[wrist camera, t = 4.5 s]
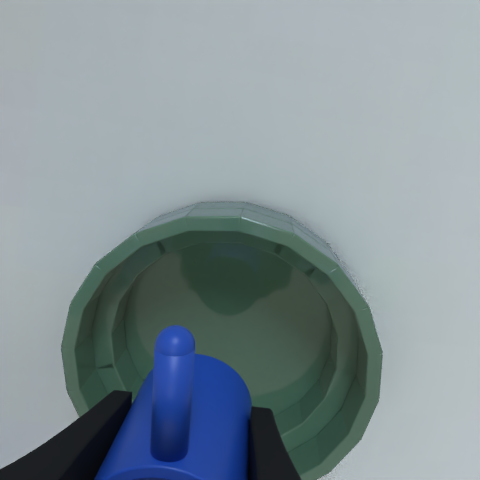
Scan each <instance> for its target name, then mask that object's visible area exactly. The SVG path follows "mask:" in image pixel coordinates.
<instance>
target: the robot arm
mask: <svg viewBox="0 0 480 480" xmlns="http://www.w3.org/2000/svg"><path fill="white" fill-rule="evenodd" d="M131 406H132V392H129V391H120V390H113V391H112V392H111V393H110V394H108V395H107V396H106V397H104V398H103V399H102V400H101V401H100V402H98V403H97V404H96V405H95V406H93V407H92V408H91V409H90V410H88V411H87V412H86V413H85V414H84V415H82V416H81V417H80V418H78V419H77V420H76V421H74V422H73V423H72V424H71V425H69V426H68V427H67V428H65V429H64V430H63V431H61V432H60V433H58V434H57V435H56V436H54V437H53V438H51V439H50V440H48V441H47V442H46V443H44V444H43V445H41V446H40V447H38V448H36V449H35V450H33V451H32V452H30V453H28V454H27V455H25V456H23V457H22V458H20V459H18V460H17V461H15V462H13V463H11V464H10V465H8V466H6V467H4V468H2V469H0V480H94V479H95V477H96V475H97V473H98V471H99V469H100V467H101V465H102V463H103V461H104V459H105V457H106V455H107V453H108V451H109V449H110V447H111V445H112V443H113V441H114V439H115V437H116V435H117V433H118V431H119V429H120V427H121V425H122V423H123V421H124V420H125V418H126V416H127V414H128V412H129V410H130V408H131ZM248 480H301V478H300V476H299V474H298V472H297V470H296V469H295V467H294V465H293V463H292V461H291V459H290V456H289V454H288V452H287V450H286V448H285V446H284V443H283V441H282V438H281V436H280V433H279V431H278V428H277V425H276V422H275V419H274V415H273V411H272V410H271V409H270V408H263V407H254V406H252V407H251V416H250V428H249V463H248Z"/></svg>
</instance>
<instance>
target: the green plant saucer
mask: <svg viewBox="0 0 480 480" xmlns="http://www.w3.org/2000/svg"><path fill="white" fill-rule="evenodd" d="M172 325H179V326H183V327H185V328H187V329H188V330H189V331H190V332H191V333H192V335H193V336H194V339H195V354H201V355H207V356H210V357H214V358H216V359H218V360H221V361H222V362H224V363H226V364H227V365H229V366H230V367H231V368H233V369H234V370H235V371H236V372H237V373H238V374H239V375H240V377H241V378H242V379H243V381H244V382H245V384H246V386H247V388H248V390H249V393H250V397H251V403H252V406H254V407H263V408H270V409H271V410H272V411H273V415H274V419H275V422H276V425H277V428H278V431H279V433H280V436H281V438H282V441H283V443H284V446H285V448H286V450H287V452H288V454H289V456H290V459H291V461H292V463H293V465H294V467H295V469H296V470H297V472H298V474H299V476H300V478H301V480H317V479H319V478H321V477H322V476H324V475H326V474H328V473H329V472H331V471H332V469H333V468H334V467H335V466H336V465H337V464H338V463H339V462H340V461H341V460H342V459H343V458H344V457H345V456H346V455H347V454H348V453H349V452H350V451H351V450H352V449H353V448H354V447H355V446H356V445H357V444H358V442H359V441H360V440H361V439H362V436H363V434H364V432H365V430H366V428H367V426H368V423H369V421H370V419H371V417H372V415H373V412H374V410H375V408H376V406H377V404H378V402H379V396H380V383H381V369H382V356H383V354H382V349H381V345H380V342H379V338H378V335H377V331H376V328H375V325H374V321H373V318H372V314H371V311H370V308H369V306H368V304H367V302H366V300H365V299H364V297H363V295H362V294H361V292H360V290H359V289H358V287H357V285H356V284H355V282H354V280H353V279H352V277H351V275H350V274H349V273H348V271H347V270H346V268H345V267H344V266H343V264H342V263H341V262H340V260H339V259H338V257H337V256H336V255H335V253H334V252H333V251H332V249H331V248H330V246H329V245H328V244H327V243H326V242H325V241H324V240H323V239H321V238H320V237H318V236H317V235H316V234H314V233H313V232H311V231H310V230H309V229H307V228H306V227H304V226H303V225H302V224H300V223H299V222H297V221H296V220H295V219H293V218H292V217H289V216H288V215H285V214H282V213H279V212H276V211H273V210H269V209H266V208H263V207H260V206H257V205H254V204H250V203H247V202H246V203H245V202H200V203H196V204H193V205H190V206H187V207H184V208H182V209H179V210H176V211H173V212H170V213H167V214H164V215H161V216H159V217H157V218H155V219H154V220H152V221H151V222H150V223H148V224H147V225H145V226H144V227H143V228H141V229H140V230H138V231H137V232H136V233H134V234H133V235H132V236H130V237H129V238H128V239H126V240H125V241H124V242H122V243H121V244H120V245H119V246H117V247H116V248H115V249H113V250H112V251H111V252H109V253H108V254H107V255H106V256H104V257H103V258H102V259H100V260H99V261H98V262H97V263H96V264H95V265H94V266H93V268H92V270H91V271H90V273H89V274H88V276H87V277H86V279H85V281H84V282H83V284H82V285H81V287H80V288H79V290H78V292H77V293H76V295H75V296H74V298H73V300H72V301H71V304H70V307H69V312H68V316H67V321H66V326H65V331H64V335H63V340H62V345H61V347H62V348H61V352H62V359H63V367H64V374H65V381H66V389H67V391H68V395H69V397H70V399H71V401H72V403H73V405H74V407H75V409H76V411H77V413H78V415H79V417H81V416H82V415H84V414H85V413H86V412H87V411H88V410H90V409H91V408H92V407H93V406H95V405H96V404H97V403H98V402H100V401H101V400H102V399H103V398H104V397H106V396H107V395H108V394H110V393H111V392H112V391H113V390H120V391H129V392H132V404H133V402H134V400H135V398H136V396H137V394H138V392H139V390H140V388H141V386H142V384H143V382H144V380H145V378H146V377H147V375H148V374H149V373H150V371H151V370H152V369H153V368H154V346H155V341H156V338H157V336H158V334H159V333H160V332H161V331H162V330H163V329H165V328H166V327H168V326H172Z"/></svg>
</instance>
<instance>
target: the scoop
mask: <svg viewBox="0 0 480 480" xmlns="http://www.w3.org/2000/svg"><path fill="white" fill-rule="evenodd" d="M251 407H252V403H251V397H250V393H249V390H248V388H247V386H246V384H245V382H244V381H243V379H242V378H241V377H240V375H239V374H238V373H237V372H236V371H235V370H234V369H233V368H231V367H230V366H229V365H227V364H226V363H224V362H222V361H221V360H218V359H216V358H214V357H210V356H207V355H201V354H195V339H194V336H193V335H192V333H191V332H190V331H189V330H188V329H187V328H185V327H183V326H179V325H172V326H168V327H166V328H165V329H163V330H162V331H161V332H160V333H159V334H158V336H157V338H156V341H155V346H154V368H153V369H152V370H151V371H150V373H149V374H148V375H147V377H146V378H145V380H144V382H143V384H142V386H141V388H140V390H139V392H138V394H137V396H136V398H135V400H134V402H133V404H132V406H131V408H130V410H129V412H128V414H127V416H126V418H125V420H124V421H123V423H122V425H121V427H120V429H119V431H118V433H117V435H116V437H115V439H114V441H113V443H112V445H111V447H110V449H109V451H108V453H107V455H106V457H105V459H104V461H103V463H102V465H101V467H100V469H99V471H98V473H97V475H96V477H95V479H94V480H248V463H249V428H250V416H251Z"/></svg>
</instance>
